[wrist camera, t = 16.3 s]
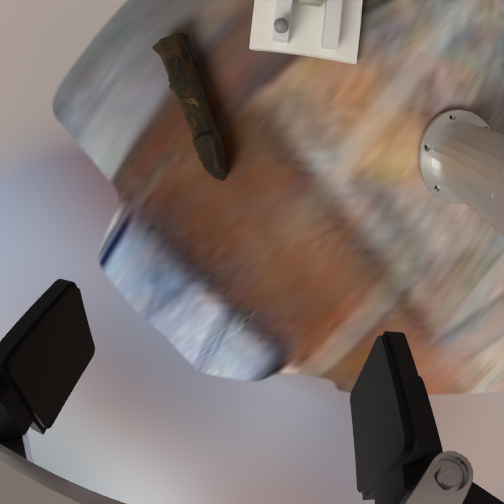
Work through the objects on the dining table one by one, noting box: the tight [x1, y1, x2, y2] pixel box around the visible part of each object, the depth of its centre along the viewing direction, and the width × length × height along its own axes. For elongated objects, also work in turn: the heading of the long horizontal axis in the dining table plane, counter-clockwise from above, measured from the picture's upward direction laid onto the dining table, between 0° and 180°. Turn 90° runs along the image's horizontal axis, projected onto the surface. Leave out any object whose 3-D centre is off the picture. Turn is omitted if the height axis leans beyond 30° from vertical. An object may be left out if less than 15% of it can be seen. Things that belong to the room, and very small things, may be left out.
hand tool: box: [153, 33, 227, 181], centre depth 34 cm, size 19×4×5 cm, turn 16°
